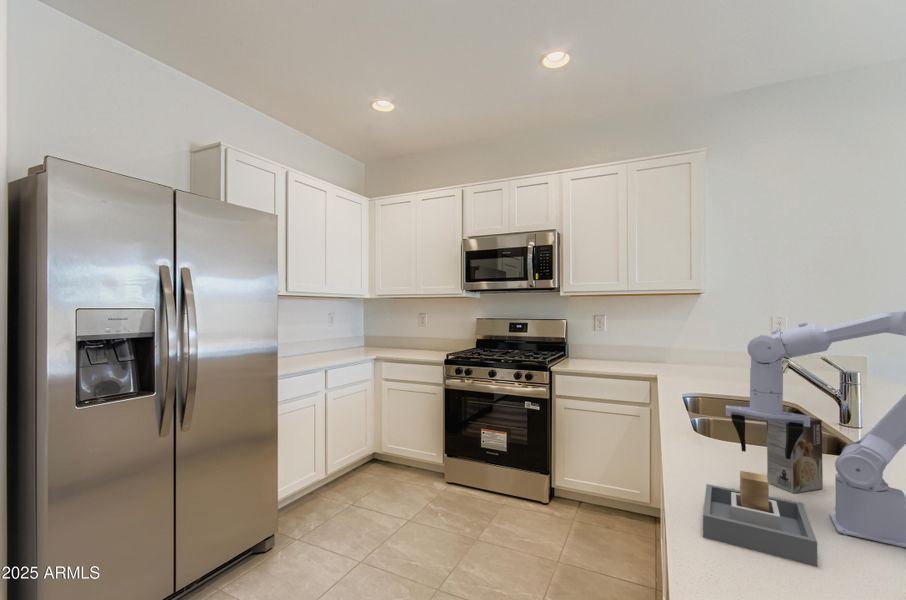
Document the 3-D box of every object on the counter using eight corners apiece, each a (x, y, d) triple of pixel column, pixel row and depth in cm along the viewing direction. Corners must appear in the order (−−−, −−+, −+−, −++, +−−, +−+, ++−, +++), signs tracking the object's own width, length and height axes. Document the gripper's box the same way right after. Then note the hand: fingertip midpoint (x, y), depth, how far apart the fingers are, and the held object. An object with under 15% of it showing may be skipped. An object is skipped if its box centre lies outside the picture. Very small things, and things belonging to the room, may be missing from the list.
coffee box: (794, 478, 104) (794, 412, 104) (823, 489, 97) (823, 419, 98) (766, 482, 101) (765, 415, 101) (793, 494, 95) (793, 422, 95)
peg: (765, 522, 81) (765, 474, 81) (768, 531, 77) (768, 482, 78) (740, 516, 83) (740, 470, 83) (742, 526, 79) (742, 478, 79)
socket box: (802, 523, 82) (802, 497, 82) (817, 566, 69) (817, 535, 69) (706, 502, 91) (706, 479, 91) (703, 537, 78) (703, 509, 78)
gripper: (806, 391, 91) (805, 455, 91) (726, 383, 98) (725, 442, 99) (812, 398, 85) (811, 465, 85) (726, 389, 93) (725, 451, 93)
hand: (765, 453), depth 91 cm, fingers open, 7 cm apart
